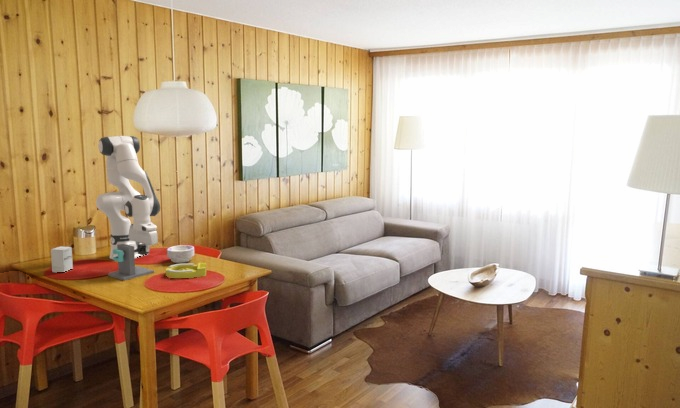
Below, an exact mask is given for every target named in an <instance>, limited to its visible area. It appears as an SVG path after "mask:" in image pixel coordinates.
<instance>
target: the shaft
mask: <svg viewBox="0 0 680 408" xmlns="http://www.w3.org/2000/svg"><path fill="white" fill-rule="evenodd" d="M145 248H146V244H144V243H142V244H139V245H138V249H135V250H134V253H135V252H138V254H140V255H144V256H146V255H145V254H147V255H150V251H149V252H145ZM123 255H125V252H123ZM112 257H118V254H113V255H112Z"/></svg>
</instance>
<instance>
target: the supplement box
mask: <svg viewBox="0 0 680 408" xmlns="http://www.w3.org/2000/svg"><path fill="white" fill-rule="evenodd" d="M50 255H51V256H50V257H51V258H50V259H51V271H52V273H57V272H65V271H67V272H69V271H68V270H70V269H73V270H74V264H73V248H72V246H61V245H60V246H57V247H54V248H52V249H50ZM70 271H71V270H70ZM65 273H66V272H65Z"/></svg>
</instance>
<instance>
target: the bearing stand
mask: <svg viewBox="0 0 680 408" xmlns="http://www.w3.org/2000/svg"><path fill="white" fill-rule="evenodd" d="M117 249H118V250H122V251H123V252H125V255H123V260H124V261H123V262H118V261H117V263H118V264H117V265H118V270H117V271H113V272H110V273H109V272H108V273H107V277H111V278H114V279H117V280H120V281H127V280H132V279H135V278H139V277H142V276H146V275H150V274H154V273H155V270H154V269H150V268H147V267H142V266H139V265H136V262H135V261H136V260H135V259H136V258H135V256H134V246H130V245H126V244H119V245H117Z"/></svg>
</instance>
